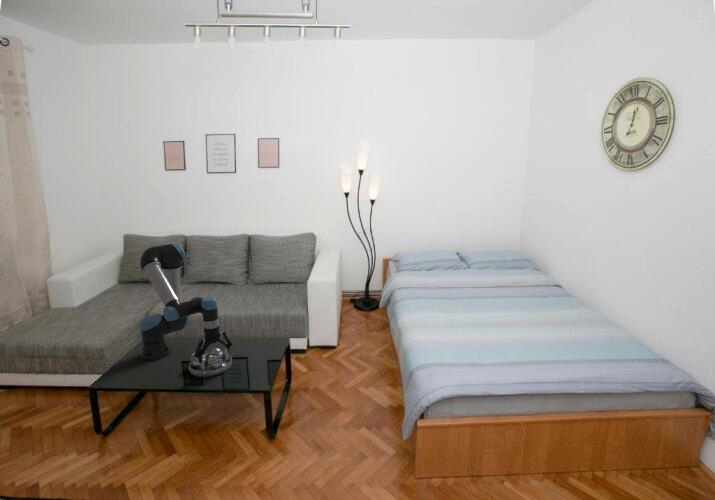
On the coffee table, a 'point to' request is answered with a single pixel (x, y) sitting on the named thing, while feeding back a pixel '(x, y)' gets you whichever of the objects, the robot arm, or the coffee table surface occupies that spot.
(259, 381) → the coffee table surface
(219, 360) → the grey nut
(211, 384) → the coffee table surface
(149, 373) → the coffee table surface
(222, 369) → the carrier
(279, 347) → the coffee table surface
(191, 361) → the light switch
